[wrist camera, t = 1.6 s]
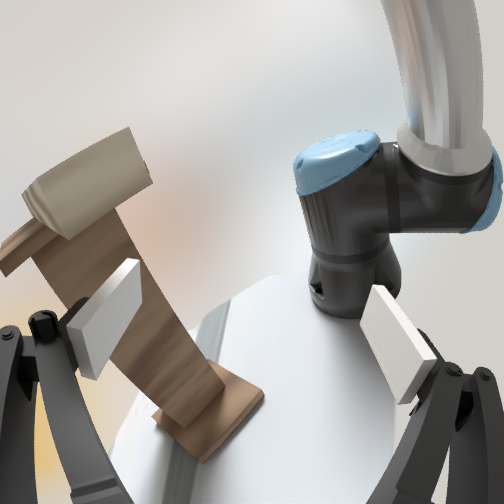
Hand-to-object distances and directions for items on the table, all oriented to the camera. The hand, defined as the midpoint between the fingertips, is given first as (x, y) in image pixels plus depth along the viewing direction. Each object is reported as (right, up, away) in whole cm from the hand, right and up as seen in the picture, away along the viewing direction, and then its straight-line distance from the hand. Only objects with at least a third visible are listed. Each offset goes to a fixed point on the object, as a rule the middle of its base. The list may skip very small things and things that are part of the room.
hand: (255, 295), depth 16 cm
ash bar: (-13, +5, +1) cm, 14 cm away
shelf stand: (-6, -18, +18) cm, 26 cm away
